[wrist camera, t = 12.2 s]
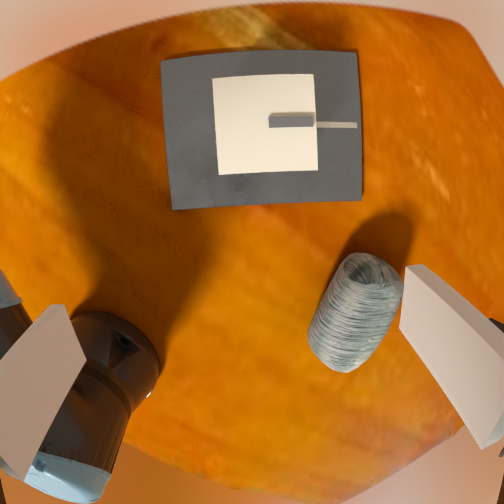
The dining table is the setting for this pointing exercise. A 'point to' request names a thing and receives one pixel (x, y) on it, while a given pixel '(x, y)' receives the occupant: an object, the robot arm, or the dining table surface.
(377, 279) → the spool
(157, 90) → the dining table surface
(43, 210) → the dining table surface
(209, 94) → the gray board
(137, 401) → the robot arm
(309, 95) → the white drawer box
